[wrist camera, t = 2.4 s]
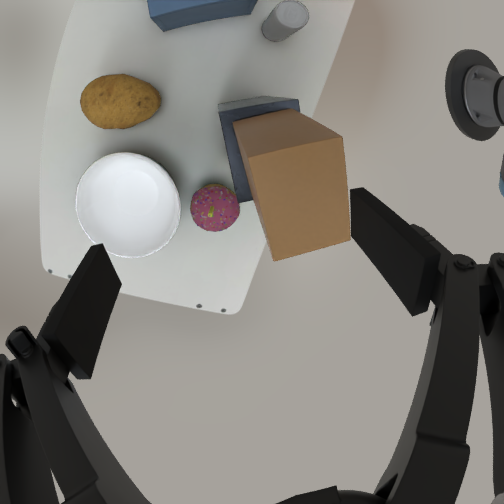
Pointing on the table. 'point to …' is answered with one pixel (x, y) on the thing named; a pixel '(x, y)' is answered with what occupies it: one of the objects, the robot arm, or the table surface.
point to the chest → (204, 14)
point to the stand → (228, 115)
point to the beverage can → (285, 20)
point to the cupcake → (214, 207)
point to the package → (295, 181)
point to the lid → (176, 5)
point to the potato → (119, 101)
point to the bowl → (128, 204)
